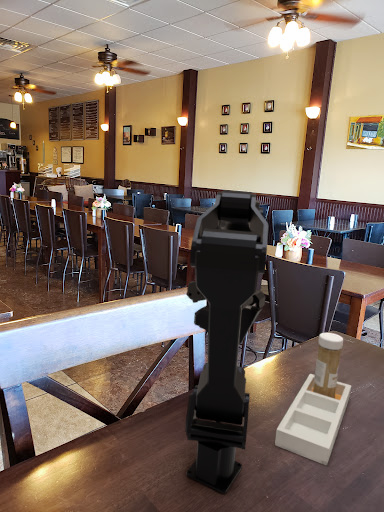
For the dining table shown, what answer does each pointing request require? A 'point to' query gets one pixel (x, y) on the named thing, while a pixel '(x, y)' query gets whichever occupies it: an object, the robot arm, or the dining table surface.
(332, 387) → the sprinkles bottle
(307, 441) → the condiment rack
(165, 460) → the dining table surface
